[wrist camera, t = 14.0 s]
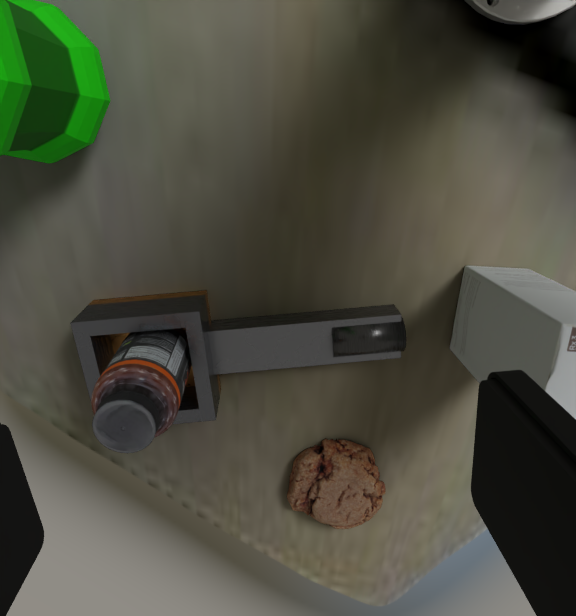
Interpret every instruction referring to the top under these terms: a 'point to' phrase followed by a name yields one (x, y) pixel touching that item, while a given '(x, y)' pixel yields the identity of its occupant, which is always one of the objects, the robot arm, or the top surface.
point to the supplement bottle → (141, 389)
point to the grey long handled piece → (234, 340)
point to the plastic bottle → (47, 83)
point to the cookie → (336, 484)
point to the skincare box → (518, 328)
